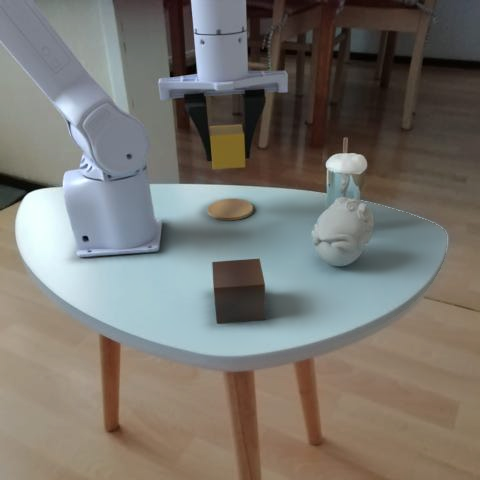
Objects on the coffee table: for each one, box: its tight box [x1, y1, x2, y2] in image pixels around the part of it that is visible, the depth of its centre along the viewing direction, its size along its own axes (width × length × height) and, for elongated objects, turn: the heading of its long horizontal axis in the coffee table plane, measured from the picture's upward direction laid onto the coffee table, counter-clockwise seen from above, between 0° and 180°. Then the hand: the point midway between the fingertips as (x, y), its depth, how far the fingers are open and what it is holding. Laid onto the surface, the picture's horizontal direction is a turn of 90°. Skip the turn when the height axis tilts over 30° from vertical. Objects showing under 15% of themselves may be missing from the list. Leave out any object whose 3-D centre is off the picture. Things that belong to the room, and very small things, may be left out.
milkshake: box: [325, 137, 368, 210], centre depth 57 cm, size 4×5×10 cm
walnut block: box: [211, 257, 266, 324], centre depth 47 cm, size 5×5×4 cm
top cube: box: [209, 123, 246, 170], centre depth 60 cm, size 4×4×4 cm
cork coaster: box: [207, 198, 254, 222], centre depth 65 cm, size 6×6×1 cm
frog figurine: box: [311, 197, 375, 267], centre depth 52 cm, size 6×7×7 cm
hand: (227, 157), depth 61 cm, fingers closed on top cube, 4 cm apart
